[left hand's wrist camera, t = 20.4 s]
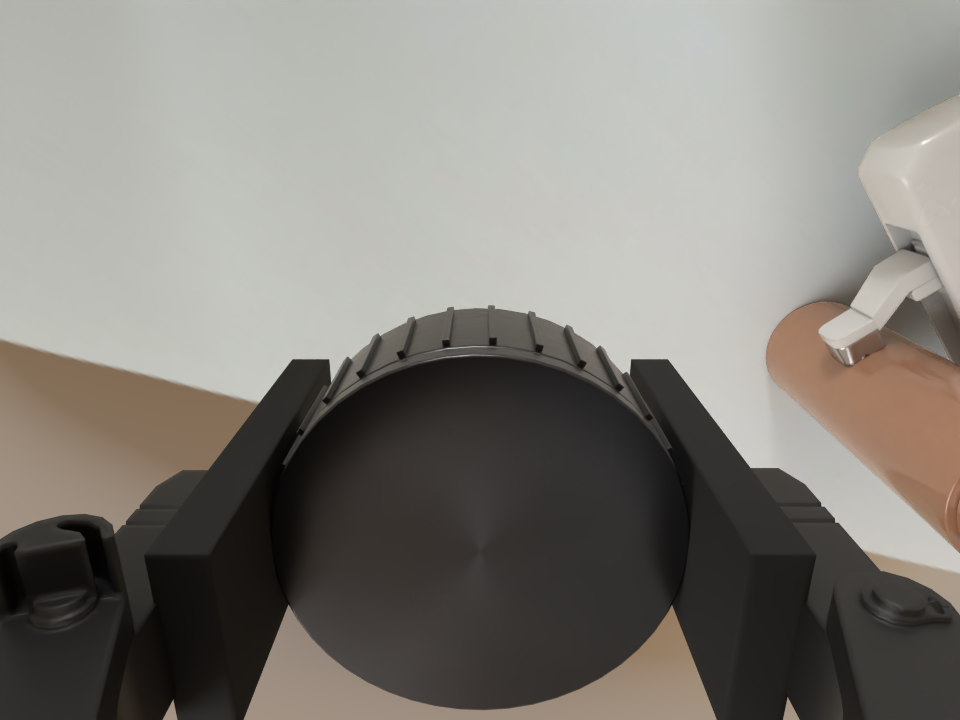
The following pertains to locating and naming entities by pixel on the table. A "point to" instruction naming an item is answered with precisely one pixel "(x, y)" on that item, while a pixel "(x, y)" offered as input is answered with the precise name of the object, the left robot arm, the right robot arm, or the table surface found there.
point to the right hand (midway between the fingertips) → (863, 407)
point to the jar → (880, 409)
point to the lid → (480, 513)
